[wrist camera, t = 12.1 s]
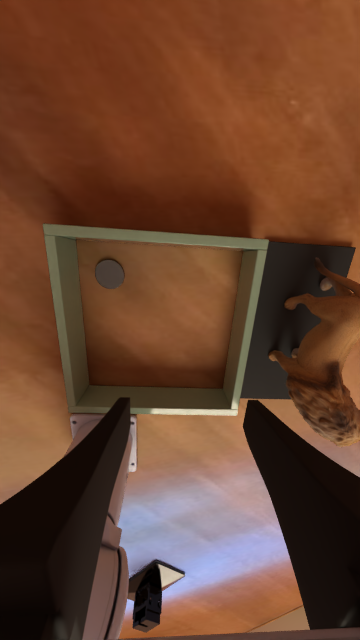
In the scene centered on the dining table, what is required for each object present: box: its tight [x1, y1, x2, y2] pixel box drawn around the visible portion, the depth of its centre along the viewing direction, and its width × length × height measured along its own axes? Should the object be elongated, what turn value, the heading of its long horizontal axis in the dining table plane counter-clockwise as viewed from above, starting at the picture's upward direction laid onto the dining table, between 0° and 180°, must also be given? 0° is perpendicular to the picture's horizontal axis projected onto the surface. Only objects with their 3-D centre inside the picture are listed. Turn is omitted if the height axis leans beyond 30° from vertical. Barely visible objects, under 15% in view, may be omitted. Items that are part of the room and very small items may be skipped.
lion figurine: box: [268, 258, 360, 447], centre depth 17 cm, size 15×5×9 cm, turn 178°
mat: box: [240, 241, 356, 399], centre depth 21 cm, size 18×9×1 cm, turn 177°
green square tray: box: [43, 223, 269, 416], centre depth 19 cm, size 18×18×4 cm
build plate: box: [127, 561, 185, 632], centre depth 34 cm, size 12×7×5 cm, turn 138°
